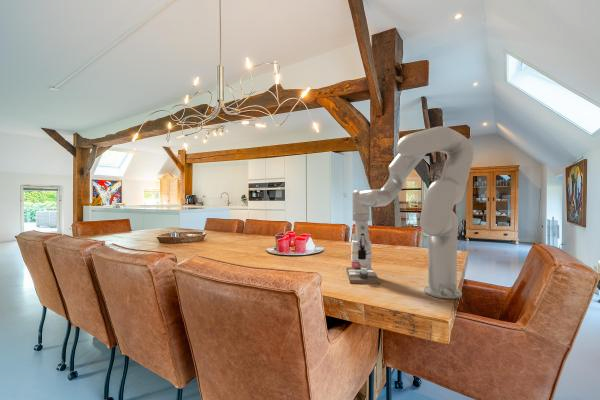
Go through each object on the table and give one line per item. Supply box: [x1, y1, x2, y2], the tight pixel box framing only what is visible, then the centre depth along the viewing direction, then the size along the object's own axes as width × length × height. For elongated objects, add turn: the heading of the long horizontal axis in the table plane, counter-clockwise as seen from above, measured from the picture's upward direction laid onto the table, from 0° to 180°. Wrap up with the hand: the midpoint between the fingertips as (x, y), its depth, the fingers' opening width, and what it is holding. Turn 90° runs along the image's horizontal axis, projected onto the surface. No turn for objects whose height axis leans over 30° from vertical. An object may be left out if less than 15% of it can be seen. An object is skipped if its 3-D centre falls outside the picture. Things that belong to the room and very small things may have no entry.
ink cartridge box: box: [350, 233, 372, 268], centre depth 131 cm, size 9×5×15 cm, turn 84°
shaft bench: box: [345, 266, 380, 285], centre depth 131 cm, size 21×12×6 cm, turn 175°
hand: (361, 257), depth 131 cm, fingers closed on ink cartridge box, 5 cm apart
